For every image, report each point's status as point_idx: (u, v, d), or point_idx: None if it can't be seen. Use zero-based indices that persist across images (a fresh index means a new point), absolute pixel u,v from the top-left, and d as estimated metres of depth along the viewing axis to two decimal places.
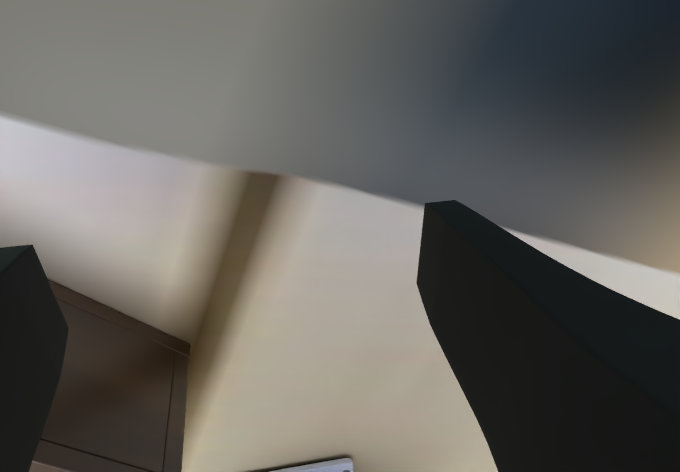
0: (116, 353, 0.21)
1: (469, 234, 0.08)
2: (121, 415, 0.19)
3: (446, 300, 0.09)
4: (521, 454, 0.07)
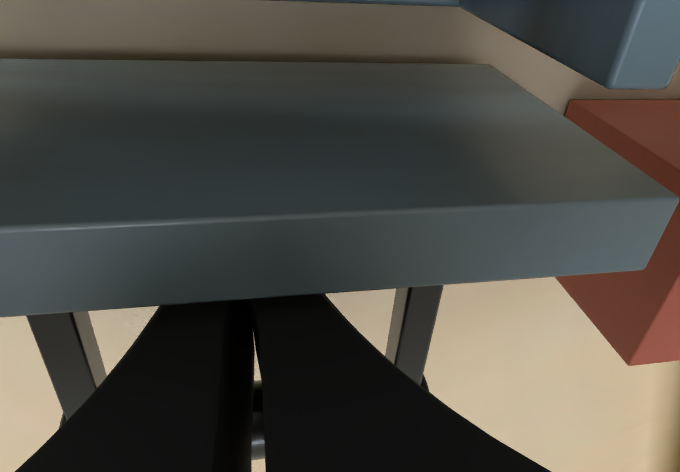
0: None
1: None
2: None
3: (253, 327, 0.09)
4: None
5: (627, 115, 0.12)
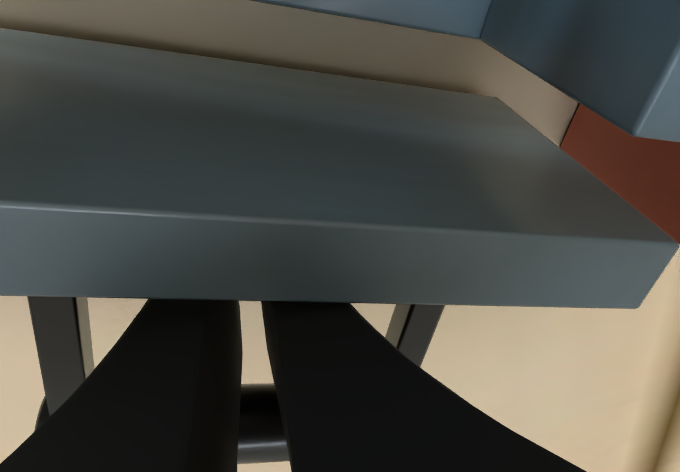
0: None
1: None
2: None
3: (265, 325, 0.09)
4: None
5: None
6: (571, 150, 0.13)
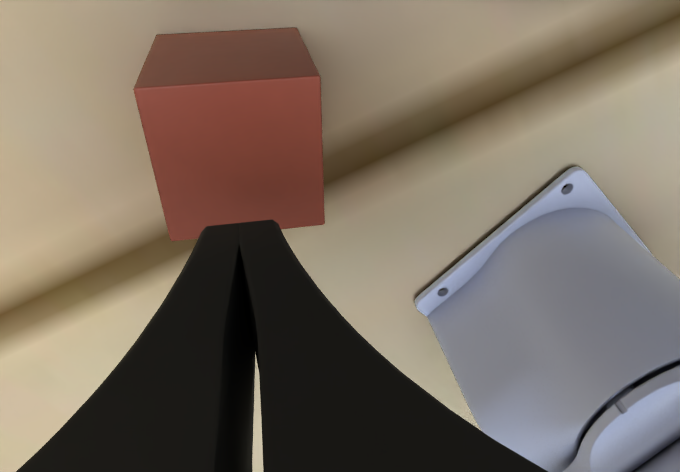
0: None
1: (250, 260, 0.08)
2: None
3: (252, 327, 0.09)
4: None
5: None
6: (159, 38, 0.15)
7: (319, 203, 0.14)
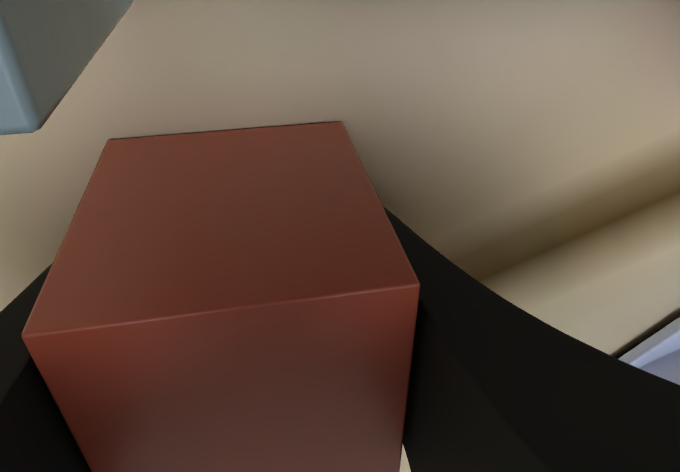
0: None
1: None
2: None
3: None
4: (428, 471, 0.07)
5: None
6: (110, 150, 0.09)
7: (393, 460, 0.08)
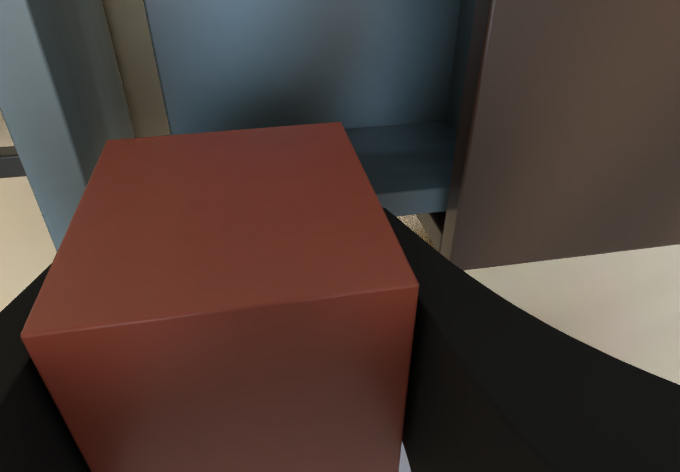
0: None
1: None
2: None
3: None
4: (428, 471, 0.07)
5: None
6: (109, 150, 0.09)
7: (392, 460, 0.08)
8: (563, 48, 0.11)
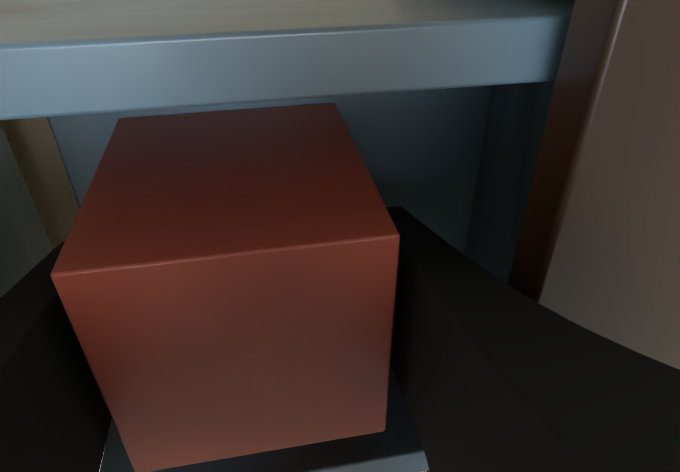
0: None
1: (403, 242, 0.08)
2: None
3: None
4: (449, 467, 0.07)
5: None
6: (121, 126, 0.10)
7: (380, 407, 0.09)
8: None
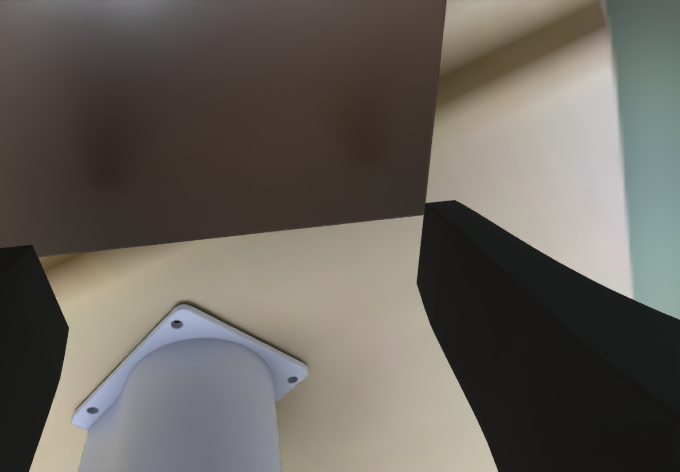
0: None
1: (469, 234, 0.08)
2: None
3: (446, 300, 0.09)
4: (521, 454, 0.07)
5: None
6: None
7: None
8: None
